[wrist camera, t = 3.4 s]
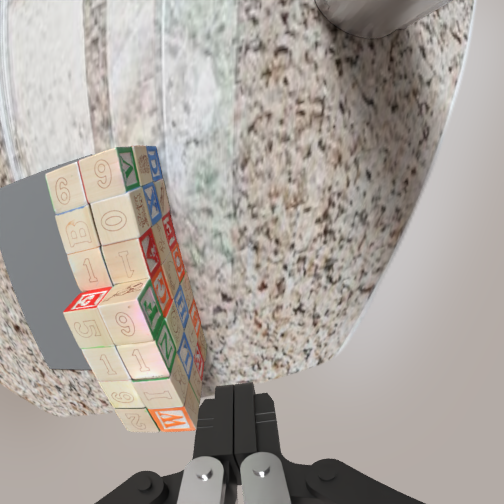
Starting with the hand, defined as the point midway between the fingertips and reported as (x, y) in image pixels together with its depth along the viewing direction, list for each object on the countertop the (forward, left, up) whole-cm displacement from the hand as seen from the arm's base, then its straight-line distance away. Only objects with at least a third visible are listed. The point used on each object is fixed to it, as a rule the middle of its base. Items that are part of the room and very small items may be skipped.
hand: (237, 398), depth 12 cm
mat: (+20, 0, -19) cm, 28 cm away
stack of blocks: (+9, 0, -19) cm, 21 cm away
